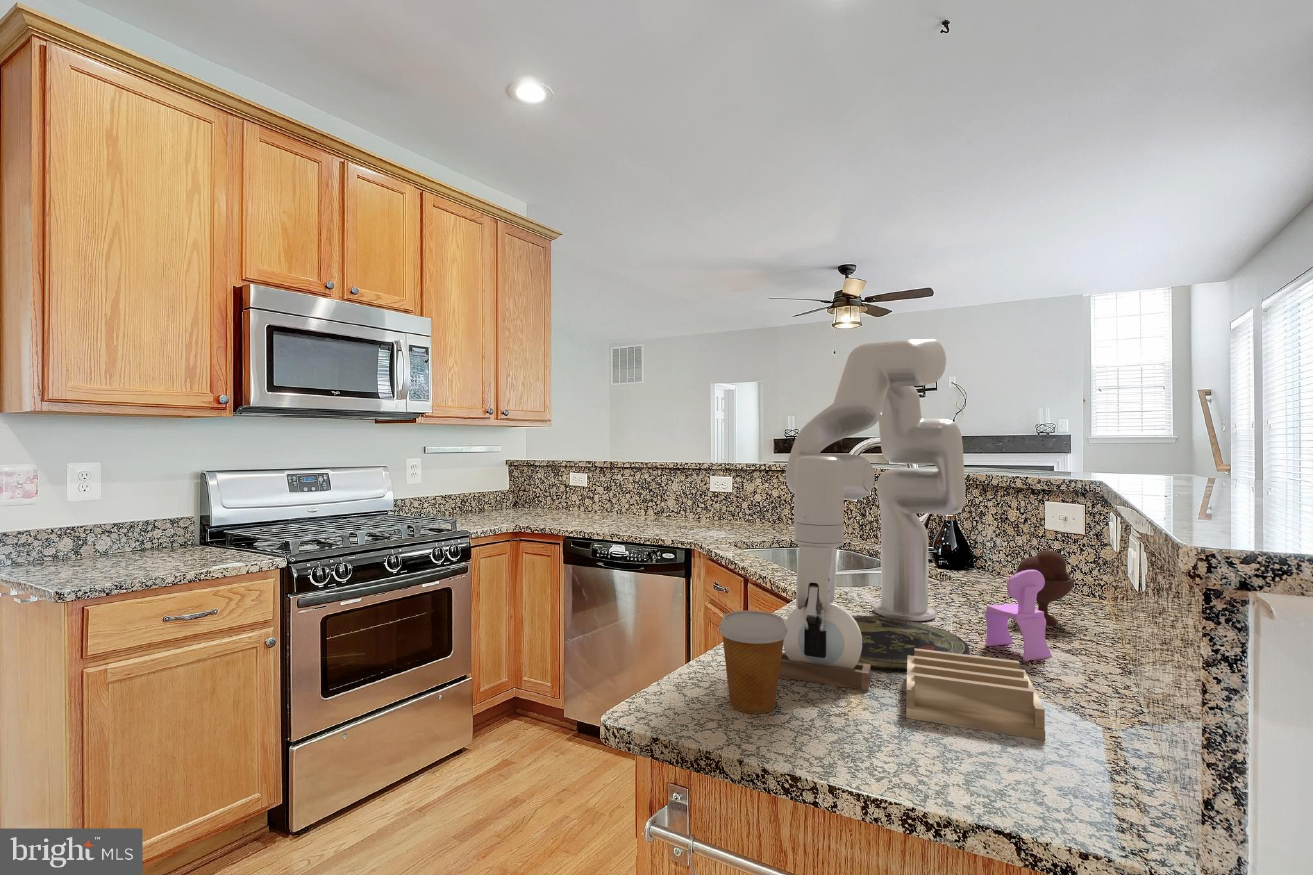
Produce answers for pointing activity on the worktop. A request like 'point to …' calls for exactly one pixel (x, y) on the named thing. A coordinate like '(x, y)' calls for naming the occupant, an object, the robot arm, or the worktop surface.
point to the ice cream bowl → (1049, 579)
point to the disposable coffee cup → (753, 658)
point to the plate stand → (826, 673)
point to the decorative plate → (901, 642)
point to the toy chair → (1020, 616)
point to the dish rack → (973, 693)
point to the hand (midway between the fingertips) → (817, 649)
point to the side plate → (839, 638)
